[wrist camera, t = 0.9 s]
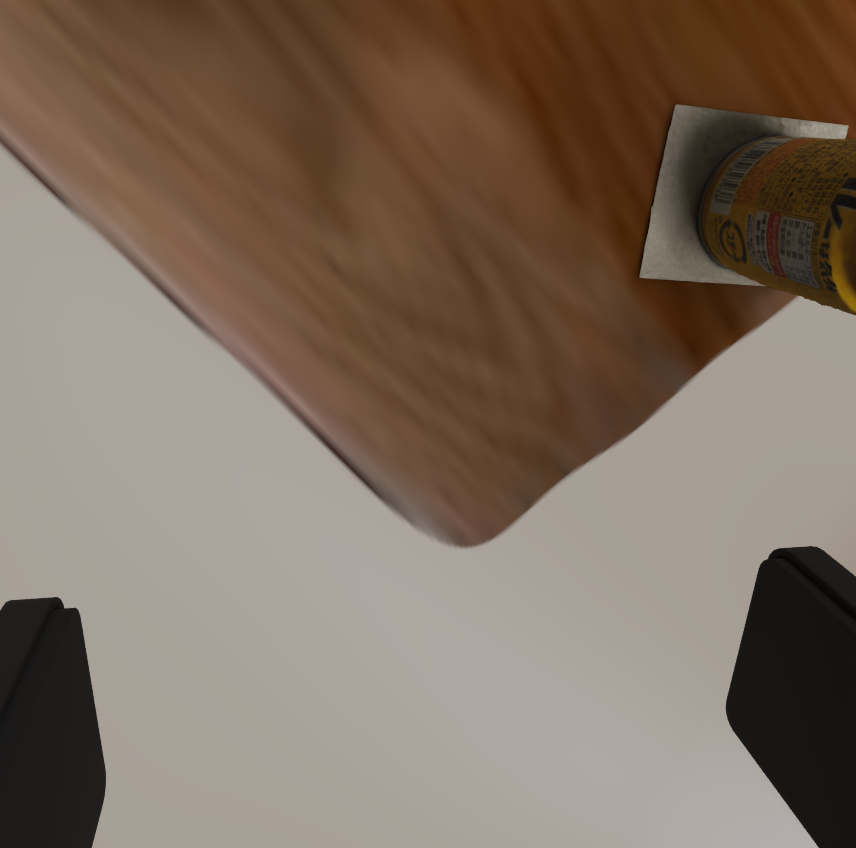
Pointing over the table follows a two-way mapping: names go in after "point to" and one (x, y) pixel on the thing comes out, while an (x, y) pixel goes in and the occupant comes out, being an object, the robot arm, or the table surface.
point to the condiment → (756, 205)
